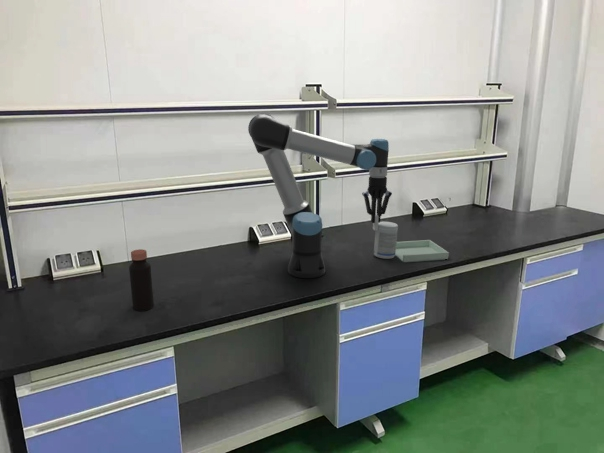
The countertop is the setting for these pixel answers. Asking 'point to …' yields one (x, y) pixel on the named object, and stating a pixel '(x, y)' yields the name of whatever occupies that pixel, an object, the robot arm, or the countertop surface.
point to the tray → (420, 251)
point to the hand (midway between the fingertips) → (375, 229)
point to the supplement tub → (386, 240)
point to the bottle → (141, 281)
